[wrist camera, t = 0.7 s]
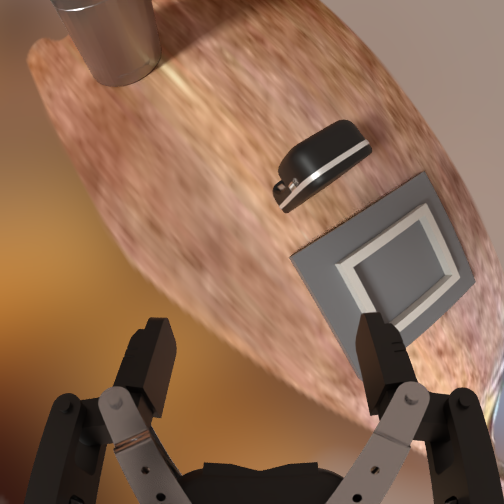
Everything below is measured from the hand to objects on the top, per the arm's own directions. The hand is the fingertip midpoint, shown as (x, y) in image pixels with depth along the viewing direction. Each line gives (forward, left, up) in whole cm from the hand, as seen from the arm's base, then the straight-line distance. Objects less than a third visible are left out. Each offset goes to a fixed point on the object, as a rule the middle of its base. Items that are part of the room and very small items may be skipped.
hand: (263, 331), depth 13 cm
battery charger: (-6, +12, -19) cm, 24 cm away
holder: (+8, +17, -19) cm, 26 cm away
